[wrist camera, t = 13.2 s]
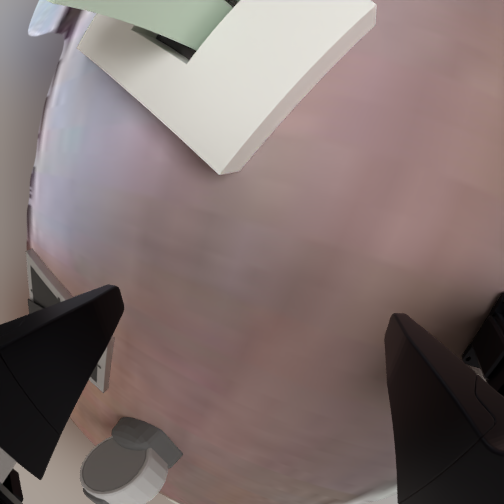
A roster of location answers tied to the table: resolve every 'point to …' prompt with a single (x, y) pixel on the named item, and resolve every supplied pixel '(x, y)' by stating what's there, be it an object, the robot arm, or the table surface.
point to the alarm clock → (128, 464)
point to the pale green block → (162, 16)
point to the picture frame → (52, 292)
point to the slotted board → (231, 70)
